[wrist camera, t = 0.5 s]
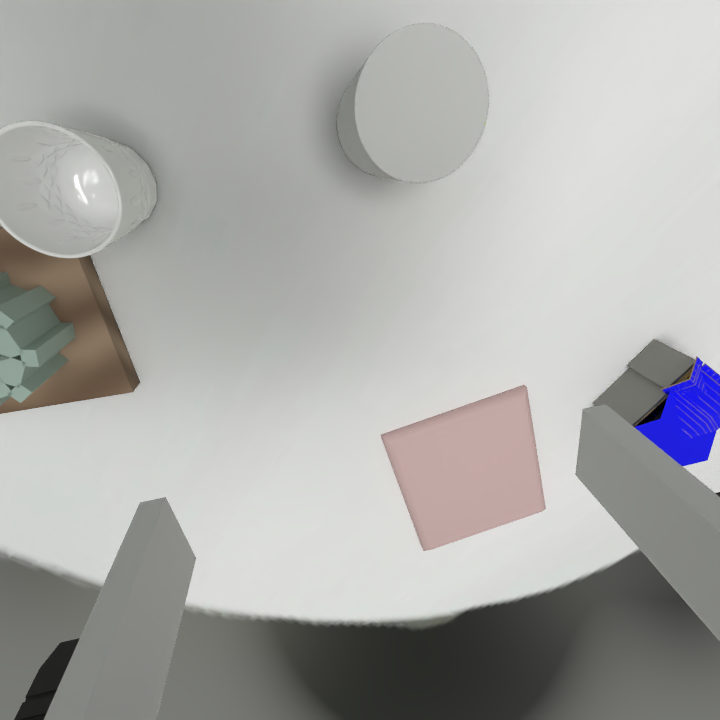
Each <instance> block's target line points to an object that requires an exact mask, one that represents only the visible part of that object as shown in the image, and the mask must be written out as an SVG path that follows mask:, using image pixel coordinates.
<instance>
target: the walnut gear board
mask: <svg viewBox="0 0 720 720" xmlns="http://www.w3.org/2000/svg"><path fill="white" fill-rule="evenodd" d="M0 272H8V275H9V279H10V284H13V285H15V286H18V287H20V288H23V289H26V290H28V291H30V290H32V289H34V288H36V287H38V286H40V285H41V286H42V287H44V288H45V289H46V290H48V291H49V292H50V293H51V294H53V295H54V296H55V297H56V298H55V299H54V300H53V301H52V302H51V303H50V304H49V305H50V307H51V308H52V310H53V311H54V313H55V314H56V316H57V317H58V319H59V320H60V322H69V323H73V326H74V331H75V336H76V338H74V339H73V340H72V341H71V342H69V343H68V344H67V345H66V346H64V347H63V348H62V349H61V350H60V352H59V353H60V354H61V355H63V356H64V357H65V358H67V359H68V361H67V362H66V363H65V364H64V365H63V366H62V367H61V368H60V369H59V370H58V371H57V372H55V373H54V374H53V375H52V376H51V377H50V378H49V379H48V380H46V381H45V382H44V383H43V384H42V385H41V386H40V387H38V388H37V389H36V390H35V391H34V392H33V393H32V394H30V395H29V396H28V397H27V398H26V399H25V400H24V401H23V402H21V403H20V402H18V401H17V400H15V399H14V398H12V397H10V398H9V399H8V400H6V401H5V402H4V403H3V404H2V405H0V414H2V413H8V412H14V411H20V410H26V409H32V408H38V407H44V406H51V405H57V404H63V403H69V402H75V401H81V400H87V399H93V398H99V397H106V396H112V395H118V394H124V393H130V392H133V391H134V390H135V388H136V387H137V386H138V384H139V383H140V381H139V379H138V376H137V374H136V371H135V369H134V366H133V364H132V361H131V359H130V356H129V354H128V351H127V348H126V346H125V343H124V341H123V338H122V336H121V333H120V331H119V328H118V326H117V323H116V321H115V318H114V316H113V313H112V311H111V308H110V306H109V303H108V300H107V298H106V295H105V293H104V290H103V288H102V285H101V283H100V280H99V278H98V275H97V273H96V270H95V268H94V265H93V263H92V260H91V257H90V255H88V256H85V257H80V258H59V257H54V256H49V255H46V254H43V253H40V252H38V251H35V250H33V249H31V248H29V247H28V246H26V245H24V244H23V243H21V242H20V241H18V240H17V239H15V238H14V237H13V236H12V235H10V234H9V233H8V232H7V231H6V230H5V229H4V228H3V227H0Z"/></svg>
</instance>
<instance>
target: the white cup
mask: <svg viewBox="0 0 720 720" xmlns="http://www.w3.org/2000/svg"><path fill="white" fill-rule="evenodd" d="M156 203H157V187H156V181H155V179H154V177H153V174H152V172H151V170H150V168H149V166H148V164H147V163H146V162H145V161H144V160H143V159H142V158H141V157H140V156H139V155H138V154H137V153H136V152H135V151H134V150H133V149H132V148H130V147H127V146H125V145H122V144H120V143H117V142H115V141H113V140H110V139H107V138H105V137H101V136H98V135H95V134H92V133H88V132H84V131H80V130H76V129H71V128H67V127H63V126H59V125H55V124H51V123H47V122H41V121H21V122H16V123H12V124H10V125H7V126H5V127H3V128H1V129H0V225H1V226H2V227H3V228H4V229H5V230H6V231H7V232H8V233H9V234H10V235H12V236H13V237H14V238H15V239H17V240H18V241H20V242H21V243H23V244H24V245H26V246H28V247H29V248H31V249H33V250H35V251H38V252H40V253H43V254H46V255H49V256H54V257H59V258H80V257H85V256H88V255H91V254H94V253H96V252H98V251H100V250H101V249H103V248H104V247H106V246H108V245H110V244H111V243H113V242H114V241H116V240H118V239H120V238H122V237H123V236H125V235H126V234H127V233H129V232H130V231H132V230H133V229H135V228H136V227H137V226H138V225H139V224H140V223H141V222H143V221H144V220H146V219H147V218H149V216H150V214H151V212H152V210H153V208H154V206H155V204H156Z"/></svg>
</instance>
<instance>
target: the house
mask: <svg viewBox="0 0 720 720" xmlns="http://www.w3.org/2000/svg"><path fill="white" fill-rule="evenodd" d="M702 363H703V362H702V361H701V360H700V359H699V358H698V357H696V360H695V359H693V358H691V357H689V356H687V355H685V354H683V353H681V352H679V351H677V350H675V349H673V348H671V347H669V346H667V345H665V344H663V343H661V342H659V341H657V340H655V339H654V340H653V341H652V342H650V343H649V344H648V345H647V346H646V347H645V348H644V349H643V350H642V351H641V352H640V353H639V354H638V355H637V356H636V357H635V358H634V359H633V360H632V361H631V362H630V363H629V364H628V365H627V366H628V367H629V369H628V370H627V371H626V372H625V373H624V374H623V375H621V376H620V377H619V378H618V379H617V380H616V381H615V382H614V383H613V384H612V385H611V386H610V387H609V388H608V389H607V390H606V391H605V392H604V393H603V394H602V395H601V396H599V397H598V398H597V399H596V400H595V401H594V402H593V404H594V405H595V406H599V405H604V404H606V405H608V406H609V407H610V408H611V409H612V410H614V411H615V412H616V413H617V414H619V415H620V416H621V417H622V418H623V419H625V420H626V421H627V422H628V423H630V424H631V425H632V426H633V427H634V428H636V429H637V430H638V431H639V432H641V433H642V434H643V435H644V436H646V437H647V438H648V439H649V440H650V441H652V442H653V443H654V444H655V445H657V446H658V447H659V448H660V449H661V450H663V451H664V452H665V453H666V454H668V455H669V456H670V457H671V458H673V459H674V460H675V461H676V462H677V463H679V464H680V465H681V466H685V465H690V464H694V463H698V462H702V461H706V460H708V457H709V453H710V450H711V447H712V444H713V440H714V437H715V434H716V430H718V429H719V428H720V375H719V374H717V373H716V372H715V371H714V370H713V369H711V368H710V367H709V366H708V365H706V364H704V365H703V366H702ZM685 376H686V377H685ZM684 377H685V378H684ZM687 377H688V378H687ZM686 378H687V379H686ZM684 380H685V381H684ZM678 382H679V383H678ZM664 400H666V404H665V407H664V409H663V410H662V411H661V412H660V413H659V414H657V415H656V416H655V417H654V418H653V419H652V420H651V421H650V422H649V423H646V424H643V425H639V426H637V425H638V424H639V423H640V422H641V421H642V420H643V419H644V418H645V417H647V416H648V415H649V414H650V413H651V412H652V411H653V410H654V409H655V408H656V407H658V406H659V405H660V404H661V403H662V402H663V401H664Z"/></svg>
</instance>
